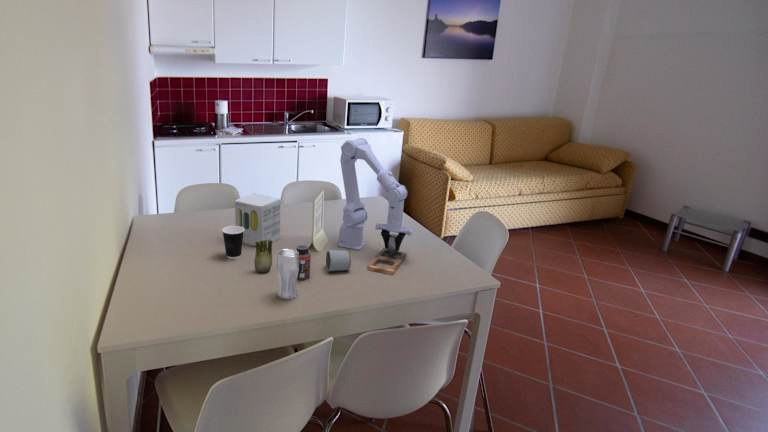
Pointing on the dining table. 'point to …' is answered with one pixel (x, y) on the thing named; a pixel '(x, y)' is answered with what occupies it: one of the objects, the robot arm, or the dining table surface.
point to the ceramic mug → (338, 260)
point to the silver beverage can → (287, 272)
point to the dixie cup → (233, 241)
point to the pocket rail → (386, 262)
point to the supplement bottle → (303, 262)
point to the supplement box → (258, 218)
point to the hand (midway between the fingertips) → (392, 249)
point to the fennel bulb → (263, 256)
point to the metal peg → (392, 245)
